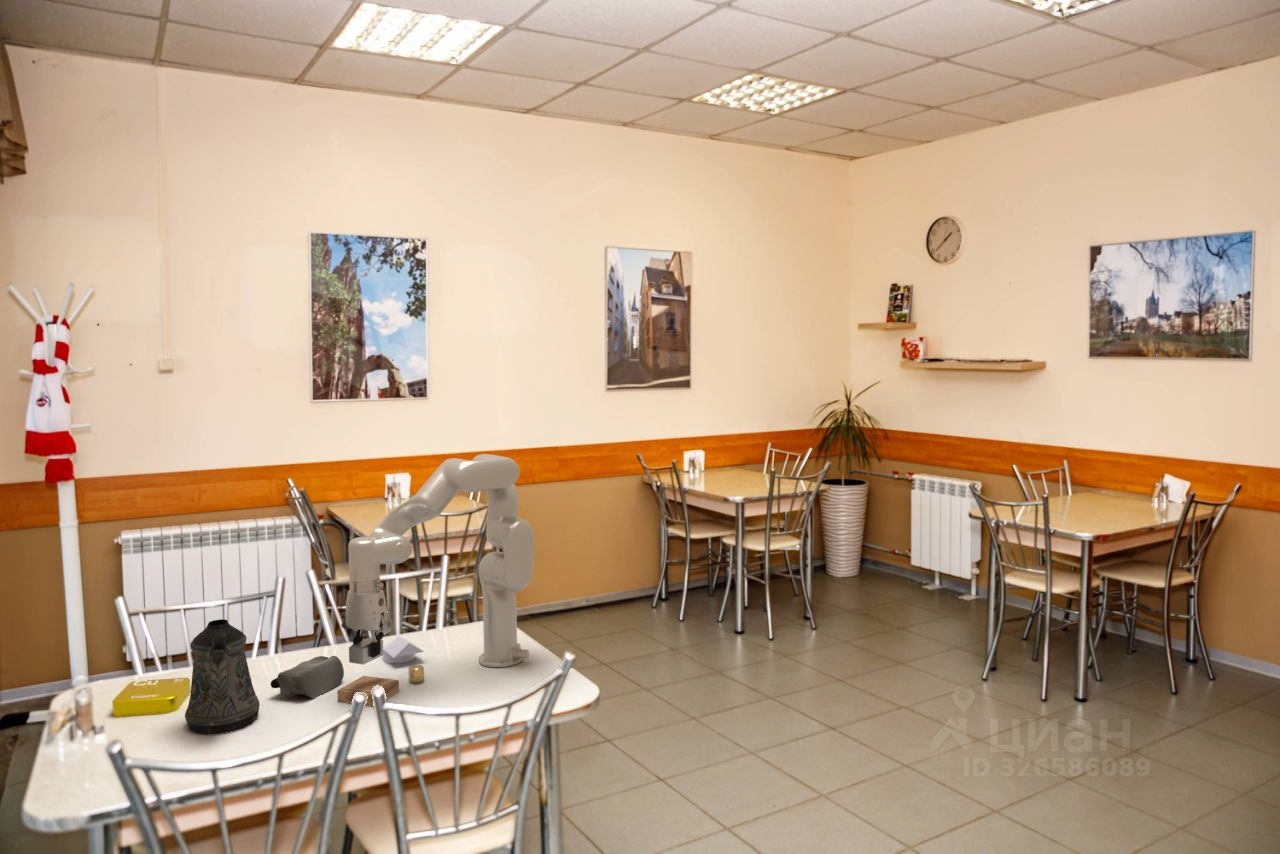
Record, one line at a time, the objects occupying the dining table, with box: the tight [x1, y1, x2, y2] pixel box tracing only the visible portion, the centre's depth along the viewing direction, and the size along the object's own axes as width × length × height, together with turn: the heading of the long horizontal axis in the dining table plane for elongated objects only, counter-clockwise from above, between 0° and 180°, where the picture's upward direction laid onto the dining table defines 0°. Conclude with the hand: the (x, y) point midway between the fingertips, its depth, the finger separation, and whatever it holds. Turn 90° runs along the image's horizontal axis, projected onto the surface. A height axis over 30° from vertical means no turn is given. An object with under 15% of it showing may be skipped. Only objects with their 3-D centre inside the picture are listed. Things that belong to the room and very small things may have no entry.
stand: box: [337, 675, 400, 708], centre depth 240 cm, size 11×11×3 cm
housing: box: [348, 637, 384, 665], centre depth 239 cm, size 8×4×4 cm, turn 158°
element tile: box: [111, 677, 191, 718], centre depth 237 cm, size 15×15×5 cm
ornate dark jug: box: [184, 619, 261, 736], centre depth 223 cm, size 16×19×25 cm
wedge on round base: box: [382, 635, 425, 664], centre depth 268 cm, size 9×7×13 cm
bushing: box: [408, 664, 425, 686], centre depth 250 cm, size 4×4×4 cm
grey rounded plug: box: [270, 655, 345, 699], centre depth 246 cm, size 18×11×8 cm, turn 159°
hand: (366, 654), depth 239 cm, fingers closed on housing, 4 cm apart
